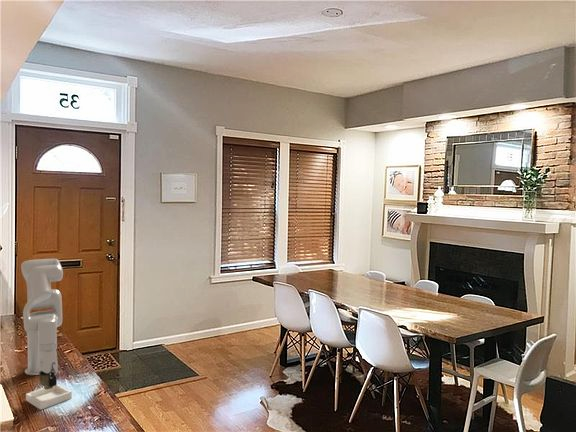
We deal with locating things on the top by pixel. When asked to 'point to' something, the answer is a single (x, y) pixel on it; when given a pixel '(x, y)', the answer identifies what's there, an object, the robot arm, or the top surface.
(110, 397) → the top surface
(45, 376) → the ornate bronze bell
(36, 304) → the robot arm
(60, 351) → the top surface
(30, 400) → the tray
